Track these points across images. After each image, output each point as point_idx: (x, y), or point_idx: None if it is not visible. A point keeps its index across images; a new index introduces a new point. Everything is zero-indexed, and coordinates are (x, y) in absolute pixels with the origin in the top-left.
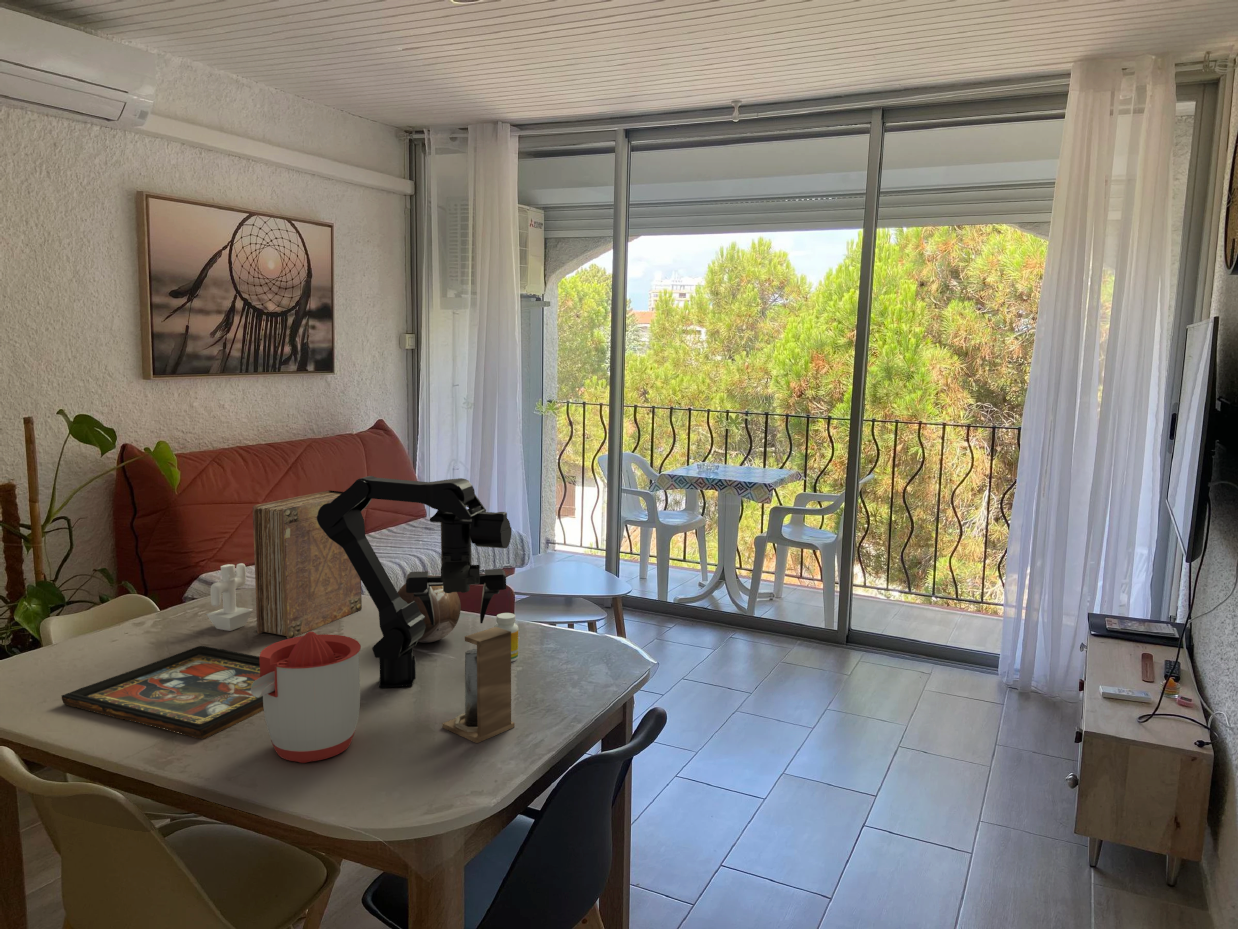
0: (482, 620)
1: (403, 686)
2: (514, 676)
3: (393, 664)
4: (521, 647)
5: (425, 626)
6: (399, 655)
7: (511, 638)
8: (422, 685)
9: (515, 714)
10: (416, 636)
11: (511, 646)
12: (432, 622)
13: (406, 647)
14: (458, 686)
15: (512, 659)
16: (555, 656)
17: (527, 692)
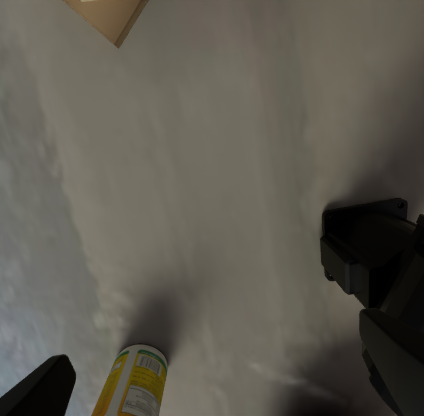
0: (37, 371)
1: (343, 208)
2: (97, 279)
3: (409, 230)
4: None
5: (372, 384)
6: (416, 235)
7: (101, 403)
8: (298, 221)
9: (18, 40)
10: (399, 303)
11: (111, 381)
12: (385, 319)
13: (416, 245)
14: (212, 219)
15: (120, 353)
16: None
17: (37, 191)
